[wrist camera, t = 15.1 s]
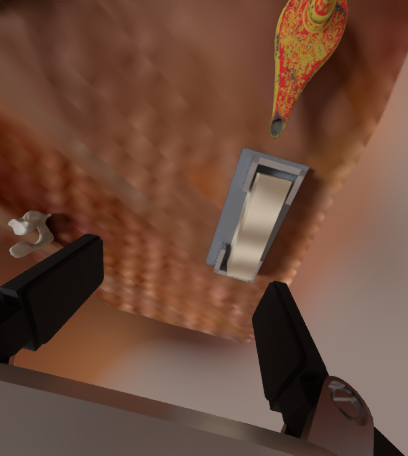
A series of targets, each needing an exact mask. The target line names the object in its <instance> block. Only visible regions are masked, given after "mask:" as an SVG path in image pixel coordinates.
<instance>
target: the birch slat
mask: <svg viewBox="0 0 408 456" xmlns="http://www.w3.org/2000/svg"><path fill="white" fill-rule="evenodd" d="M291 183H292V181H289V180H286V179H284V178H281V177H278V176H273V175H269V174H265V173H260V172H256V171H255V173H254V176H253V179H252V181H251V184H250V187H249V189H248V193H247V196H246V199H245V202H244V205H243V208H242V211H241V215H240V218H239V221H238V224H237V227H236V230H235V234H234V237H233V240H232V243H231V246H230V249H229V252H228V256H227V275H230V276H234V277H238V278H242V279H246V280H252V278H253V275H254V273H255V271H256V268H257V266H258V263H259V261H260V258H261V256H262V254H263V251H264V249H265V246H266V244H267V241H268V239H269V237H270V234H271V232H272V229H273V227H274V224H275V222H276V220H277V217H278V215H279V212H280V210H281V208H282V205H283V203H284V200H285V198H286V195H287V193H288V191H289V188H290V186H291Z"/></svg>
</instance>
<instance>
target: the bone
mask: <svg viewBox="0 0 408 456" xmlns="http://www.w3.org/2000/svg"><path fill="white" fill-rule="evenodd" d="M50 216H51V214H48V215H45V213H41V212H39V211H29V212H27V213H26V214H25V215H24V216H23V218H20V219H12V220H11V221H10V222H9V223H8V225H9V226H11V227H13V229H14V232H15V234H17V235H24V234H27V233H29V232H31V231H33V230H34V229H35V228H37V229H38V231H39V234H40V237H39V240H38V241H37V242H36V243H35V244H31V243H30V242H28V241H23V242H18V243H17V244H15V245H14V246H12V247H11V249H10V252H11V255H13V256H14V257H17V258H19V257H23V256H26V255H27V254H29V253H30V252H32V251H34V250H37V249H39V248H42V247H44V246H46V245H47V244H49V243H50V242H52V241H53V240H54V236H53V235H52V233H51V232H50V230H49V229H48V227H47V226H46V224H45V221H46V219H47V218H48V217H50Z"/></svg>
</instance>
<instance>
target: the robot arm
mask: <svg viewBox="0 0 408 456" xmlns="http://www.w3.org/2000/svg"><path fill="white" fill-rule="evenodd" d="M103 279H104V267H103V241H102V240H101V239H100V237H99V236H96V235H92V234H85V235H83V236H82V237H80V238H79V239H77V240H75V241H74V242H72V243H70V244H69V245H67V246H66V247H64V248H62V249H61V250H59V251H57V252H56V253H54V254H53V255H51V256H49V257H48V258H46V259H44V260H43V261H41V262H40V263H38V264H36V265H35V266H33V267H31V268H30V269H28V270H27V271H25V272H23V273H22V274H20V275H18V276H17V277H15V278H14V279H12V280H10V281H9V282H7V283H5V284H4V285H2V286H1V287H0V289H1V290H0V456H404V455H403V454H402V453H401V452H400V451H399V450H398V449H397V448H396V447H395V446H394V445H393V444H392V443H391V442H390V441H389V440H388V439H387V438H386V437H385V436H384V435H383V434H381V432H380V431H378V430H377V429H376V428H375V427H374V423H373V417H372V415H371V412H370V410H369V408H368V406H367V405H366V403H365V401H364V400H363V399H362V397H361V396H360V395H359V394H358V392H357V391H356V390H355V389H354V388H353V387H352V386H350V385H349V384H348V383H347V382H345V381H344V380H342V379H340V378H338V377H335V376H329V374H328V372H327V370H326V367H325V364H324V362H323V360H322V358H321V356H320V354H319V352H318V350H317V347H316V345H315V343H314V341H313V339H312V337H311V335H310V333H309V330H308V328H307V326H306V324H305V322H304V320H303V318H302V316H301V314H300V311H299V309H298V307H297V305H296V303H295V301H294V299H293V297H292V295H291V292H290V290H289V288H288V286H287V284H286V283H283V282H279V281H273V283H272V282H271V283H269V285H268V287H267V289H266V291H265V293H264V295H263V297H262V299H261V301H260V302H259V304H258V306H257V308H256V310H255V312H254V314H253V317H252V323H253V329H254V335H255V341H256V347H257V353H258V359H259V365H260V371H261V376H262V383H263V388H264V394H265V397H266V399H267V400H269V405H270V410H272V411H276V412H280V413H282V417H283V421H284V425H283V427H282V430H281V433H279V432H275V431H272V430H268V429H265V428H261V427H257V426H254V425H250V424H247V423H243V422H239V421H235V420H231V419H227V418H223V417H219V416H215V415H212V414H207V413H204V412H200V411H196V410H192V409H188V408H184V407H180V406H176V405H172V404H168V403H164V402H160V401H156V400H152V399H148V398H144V397H140V396H136V395H132V394H128V393H124V392H120V391H116V390H112V389H108V388H104V387H100V386H96V385H91V384H87V383H84V382H79V381H75V380H71V379H67V378H63V377H59V376H55V375H51V374H47V373H42V372H38V371H34V370H30V369H26V368H21V367H17V366H14V362H15V357H16V353H17V352H18V351H19V350H20V349H22V348H24V349H28V350H32V351H36V350H37V349H38V348H39V347H40V346H41V345H42V344H45V343H47V342H48V341H49V340H50V339H51V338H52V337H53V336H54V335H55V334H56V333H57V331H59V329H60V328H61V327H62V326H63V325H64V324H65V323H66V322H67V321H68V319H69V318H70V317H71V316H72V315H73V314H74V313H75V312H76V311H77V310H78V309H79V307H80V306H81V305H82V304H83V303H84V302H85V301H86V300H87V299H88V297H90V295H91V294H92V293H93V292H94V291H95V290H96V289H97V288H98V287H99V286H100V284H101V283H102V282H103Z"/></svg>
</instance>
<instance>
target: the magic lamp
mask: <svg viewBox="0 0 408 456" xmlns="http://www.w3.org/2000/svg"><path fill="white" fill-rule="evenodd" d="M346 22H347V2H346V0H289V1H288V2H287V4H286V6H285V7H284V9H283V11H282V13H281V15H280V18H279V20H278V24H277V28H276V34H275V54H274V57H275V89H274V104H273V113H272V119H271V124H270V129H269V133H270V135H271V137H272V138H276V137H278V136H280V134H281V133H282V132H283V130H284V128H285V126H286V124H287V121H288V119H289V116H290V114H291V112H292V109H293V107H294V105H295V103H296V101H297V99H298V97H299V96H300V94H301V92H302V91H303V89H304V88H305V86H306V85H307V83H308V82H309V81H310V79H311V78H312V77H313V76H314V74H315V73H316V72H317V71H318V70H319V69H320V68H321V67H322V65H323V64H324V63H325V62H326V61H327V60H328V59H329V58H330V56H331V55H332V54H333V52H334V51H335V49H336V48H337V46H338V44H339V42H340V40H341V38H342V36H343V33H344V30H345V26H346Z"/></svg>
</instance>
